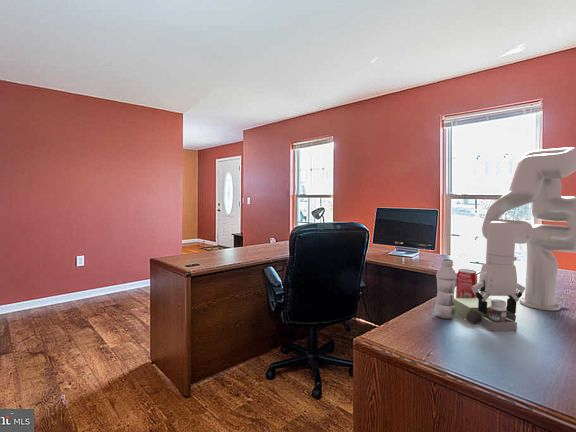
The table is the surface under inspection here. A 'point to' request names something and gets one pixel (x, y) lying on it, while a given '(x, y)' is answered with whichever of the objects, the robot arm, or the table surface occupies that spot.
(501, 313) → the pill bottle
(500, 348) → the table surface
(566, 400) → the table surface
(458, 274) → the soda can
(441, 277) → the metal bottle
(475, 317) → the cart
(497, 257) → the robot arm
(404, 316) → the table surface
